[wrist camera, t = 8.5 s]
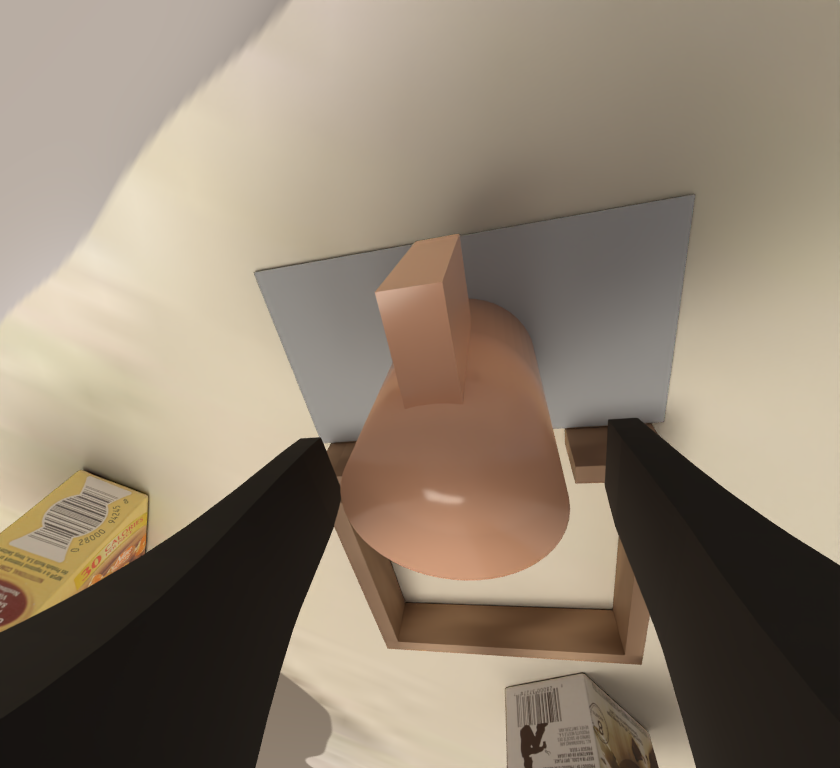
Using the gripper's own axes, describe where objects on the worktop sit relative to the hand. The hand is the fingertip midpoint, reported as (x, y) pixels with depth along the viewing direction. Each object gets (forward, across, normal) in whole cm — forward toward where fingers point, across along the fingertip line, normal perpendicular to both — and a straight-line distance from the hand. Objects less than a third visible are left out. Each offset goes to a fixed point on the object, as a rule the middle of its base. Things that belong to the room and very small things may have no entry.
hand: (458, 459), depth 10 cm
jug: (+5, 0, -1) cm, 6 cm away
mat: (+6, 0, -1) cm, 6 cm away
